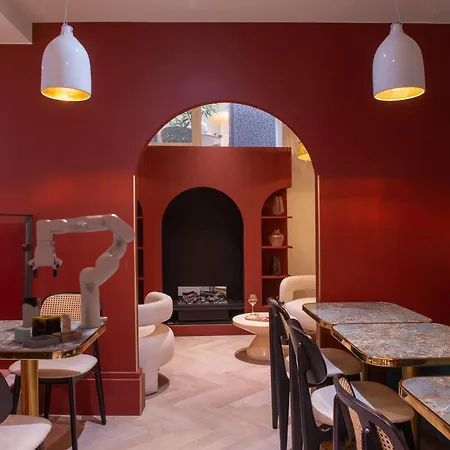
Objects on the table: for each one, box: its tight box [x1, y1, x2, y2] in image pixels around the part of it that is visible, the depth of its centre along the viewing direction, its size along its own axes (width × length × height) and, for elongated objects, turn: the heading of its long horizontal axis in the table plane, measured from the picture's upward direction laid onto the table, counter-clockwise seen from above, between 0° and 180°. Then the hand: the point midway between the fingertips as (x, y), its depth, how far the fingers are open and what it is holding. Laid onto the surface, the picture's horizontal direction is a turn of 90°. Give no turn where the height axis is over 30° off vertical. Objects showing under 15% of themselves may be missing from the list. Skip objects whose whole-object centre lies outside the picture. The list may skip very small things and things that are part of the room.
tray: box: [23, 335, 60, 349], centre depth 223 cm, size 11×11×3 cm
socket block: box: [52, 330, 83, 344], centre depth 232 cm, size 10×10×3 cm
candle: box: [31, 314, 62, 337], centre depth 239 cm, size 10×10×10 cm
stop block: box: [13, 326, 32, 344], centre depth 230 cm, size 3×10×6 cm, turn 48°
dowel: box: [61, 313, 72, 335], centre depth 232 cm, size 4×4×12 cm
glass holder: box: [21, 297, 42, 328], centre depth 274 cm, size 9×14×15 cm, turn 167°
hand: (45, 277), depth 252 cm, fingers open, 9 cm apart
